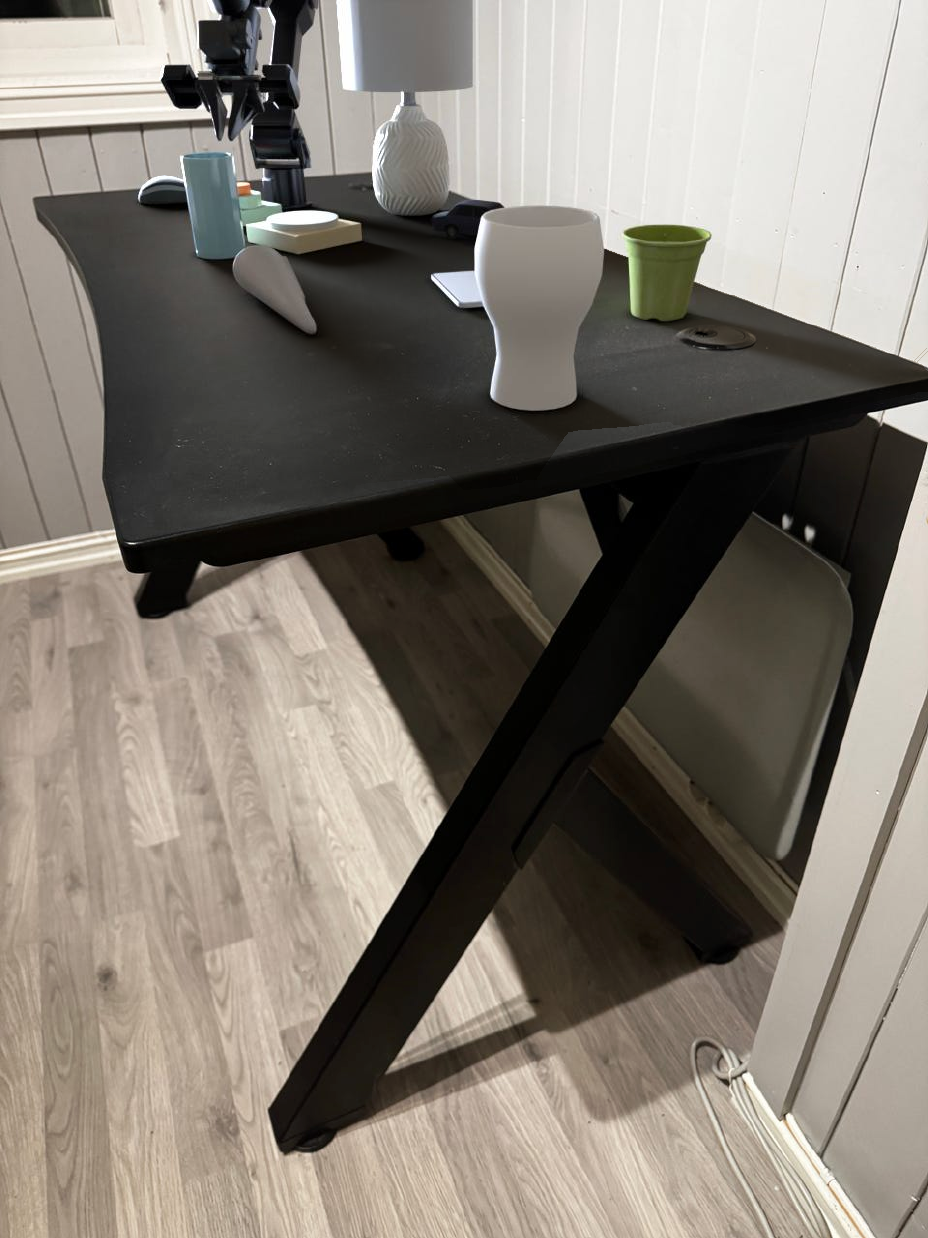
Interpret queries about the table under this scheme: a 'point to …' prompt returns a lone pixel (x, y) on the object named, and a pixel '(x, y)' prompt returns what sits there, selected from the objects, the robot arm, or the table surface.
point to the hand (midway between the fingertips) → (224, 138)
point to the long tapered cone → (273, 284)
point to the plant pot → (663, 268)
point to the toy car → (463, 217)
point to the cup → (537, 298)
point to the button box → (256, 208)
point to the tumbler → (213, 204)
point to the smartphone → (460, 287)
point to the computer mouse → (163, 191)
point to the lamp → (408, 88)
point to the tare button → (243, 189)
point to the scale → (303, 231)
